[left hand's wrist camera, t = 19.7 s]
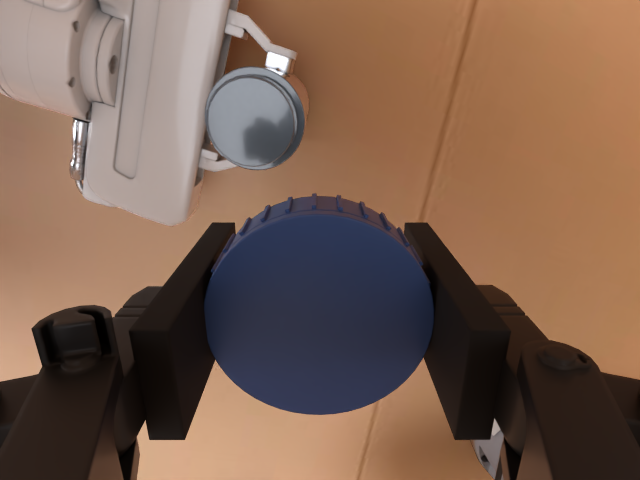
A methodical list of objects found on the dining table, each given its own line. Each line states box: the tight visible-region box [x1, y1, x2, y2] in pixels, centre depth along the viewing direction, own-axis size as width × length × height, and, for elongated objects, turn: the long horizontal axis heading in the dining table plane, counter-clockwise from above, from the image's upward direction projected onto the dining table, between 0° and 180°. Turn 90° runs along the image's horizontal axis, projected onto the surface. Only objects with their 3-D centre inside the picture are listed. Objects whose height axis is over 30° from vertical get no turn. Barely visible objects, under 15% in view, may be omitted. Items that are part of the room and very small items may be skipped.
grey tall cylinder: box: [205, 66, 309, 170], centre depth 28 cm, size 5×5×15 cm
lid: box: [204, 193, 434, 415], centre depth 11 cm, size 6×6×2 cm
